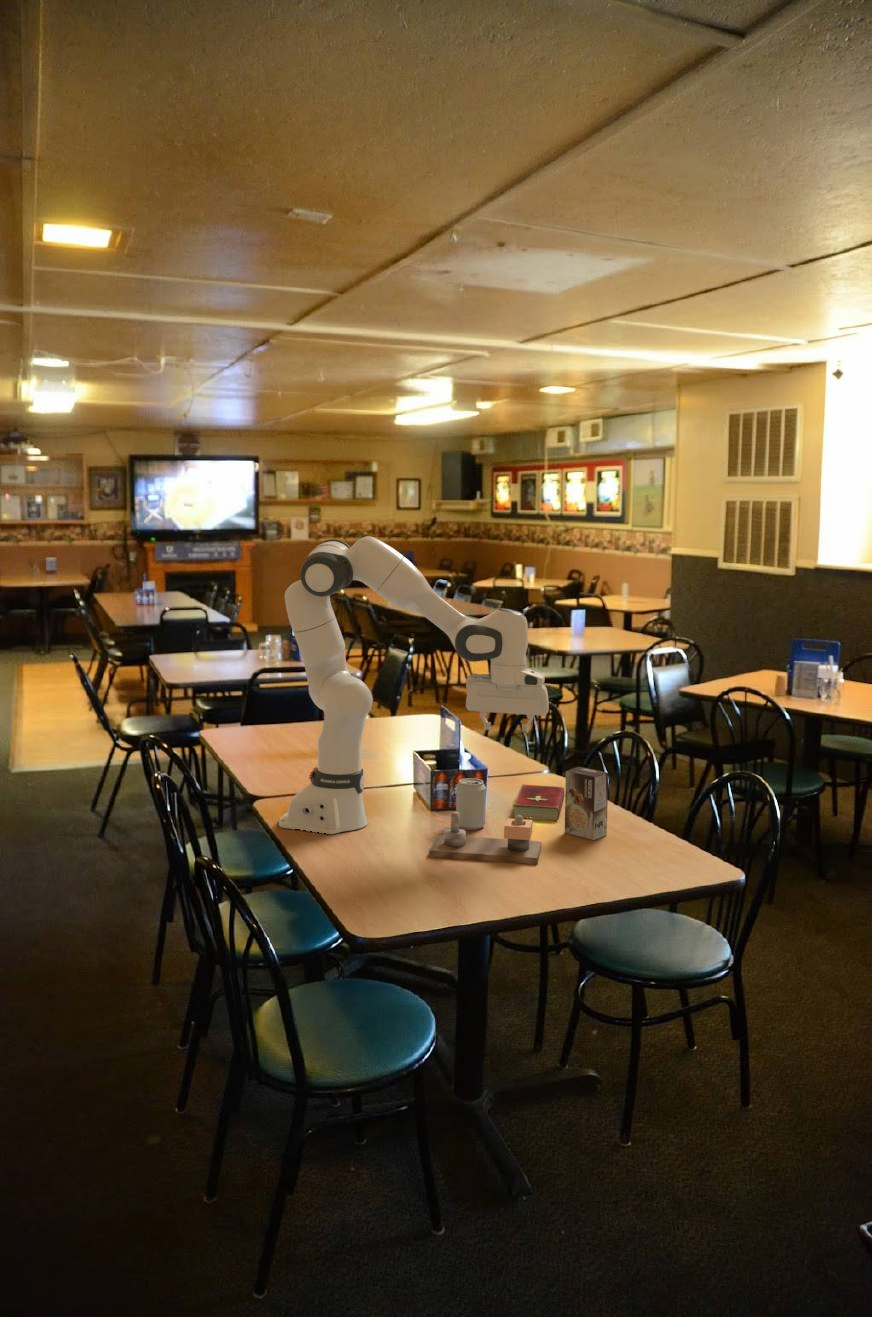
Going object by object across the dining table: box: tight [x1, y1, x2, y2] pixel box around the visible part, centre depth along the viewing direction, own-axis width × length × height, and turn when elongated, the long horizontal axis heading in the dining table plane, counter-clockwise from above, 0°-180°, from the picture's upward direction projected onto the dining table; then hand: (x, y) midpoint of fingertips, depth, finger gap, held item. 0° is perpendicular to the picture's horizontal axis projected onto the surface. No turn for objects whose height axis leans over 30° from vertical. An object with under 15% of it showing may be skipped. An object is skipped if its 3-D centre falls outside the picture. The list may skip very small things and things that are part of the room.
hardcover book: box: [512, 784, 565, 821], centre depth 273 cm, size 12×21×4 cm, turn 169°
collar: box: [503, 818, 533, 841], centre depth 235 cm, size 6×6×3 cm
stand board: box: [428, 811, 542, 865], centre depth 236 cm, size 25×12×10 cm, turn 80°
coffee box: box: [564, 766, 609, 841], centre depth 250 cm, size 9×6×16 cm
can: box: [455, 777, 487, 831], centre depth 255 cm, size 8×8×12 cm
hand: (506, 730), depth 247 cm, fingers open, 8 cm apart
